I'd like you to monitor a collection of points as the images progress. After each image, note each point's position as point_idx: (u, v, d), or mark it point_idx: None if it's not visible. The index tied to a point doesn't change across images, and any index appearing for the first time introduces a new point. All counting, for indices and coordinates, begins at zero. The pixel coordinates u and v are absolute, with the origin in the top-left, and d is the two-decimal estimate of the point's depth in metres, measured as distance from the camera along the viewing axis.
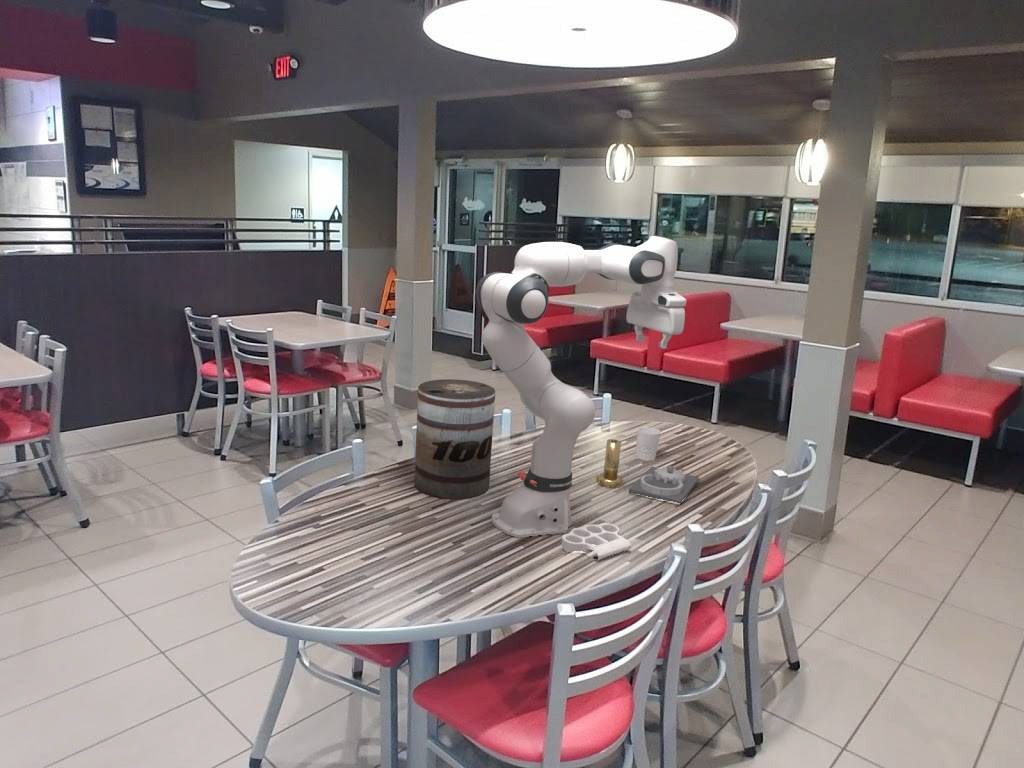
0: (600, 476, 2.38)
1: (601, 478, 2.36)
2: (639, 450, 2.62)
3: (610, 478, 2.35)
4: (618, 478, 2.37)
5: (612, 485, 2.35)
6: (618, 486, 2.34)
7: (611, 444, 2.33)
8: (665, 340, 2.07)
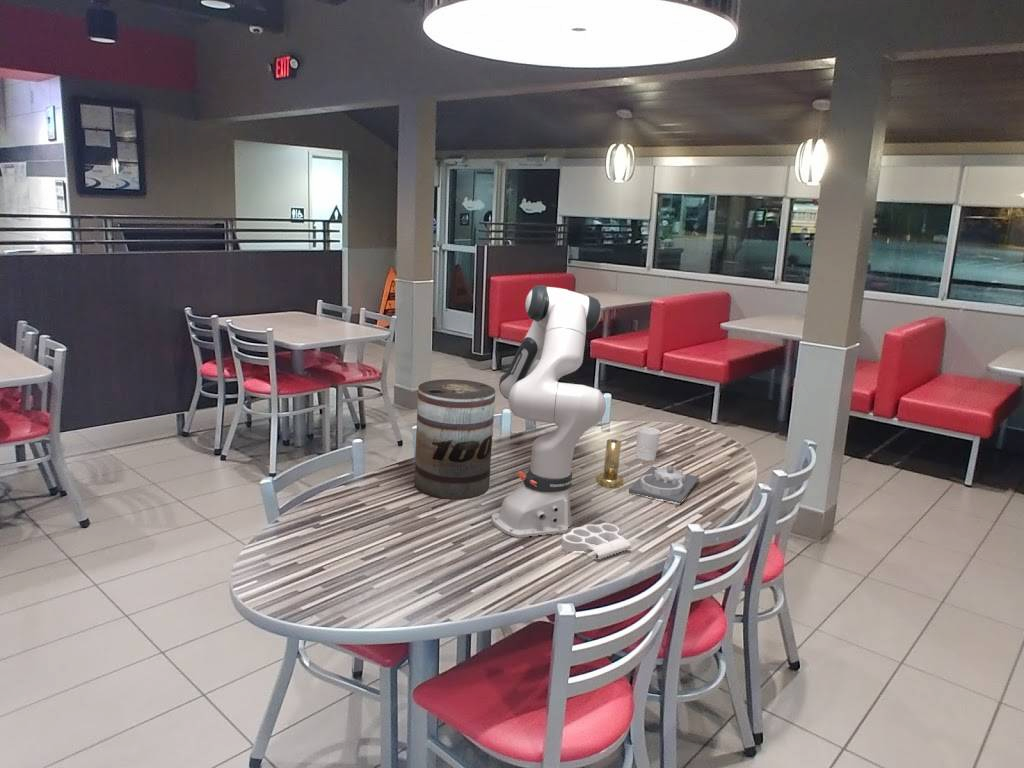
0: (600, 476, 2.38)
1: (601, 478, 2.36)
2: (639, 450, 2.62)
3: (610, 478, 2.35)
4: (618, 478, 2.37)
5: (612, 485, 2.35)
6: (618, 486, 2.34)
7: (611, 444, 2.33)
8: None
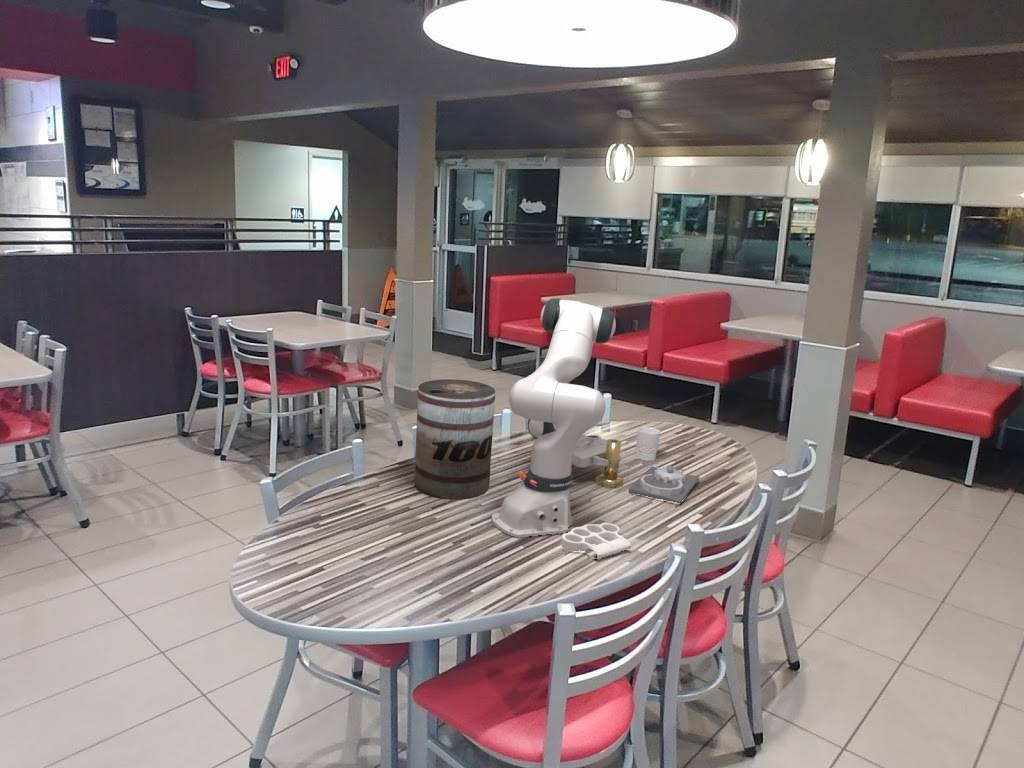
0: (600, 476, 2.38)
1: (601, 478, 2.36)
2: (639, 450, 2.62)
3: (610, 478, 2.35)
4: (618, 478, 2.37)
5: (612, 485, 2.35)
6: (618, 486, 2.34)
7: (611, 444, 2.33)
8: None
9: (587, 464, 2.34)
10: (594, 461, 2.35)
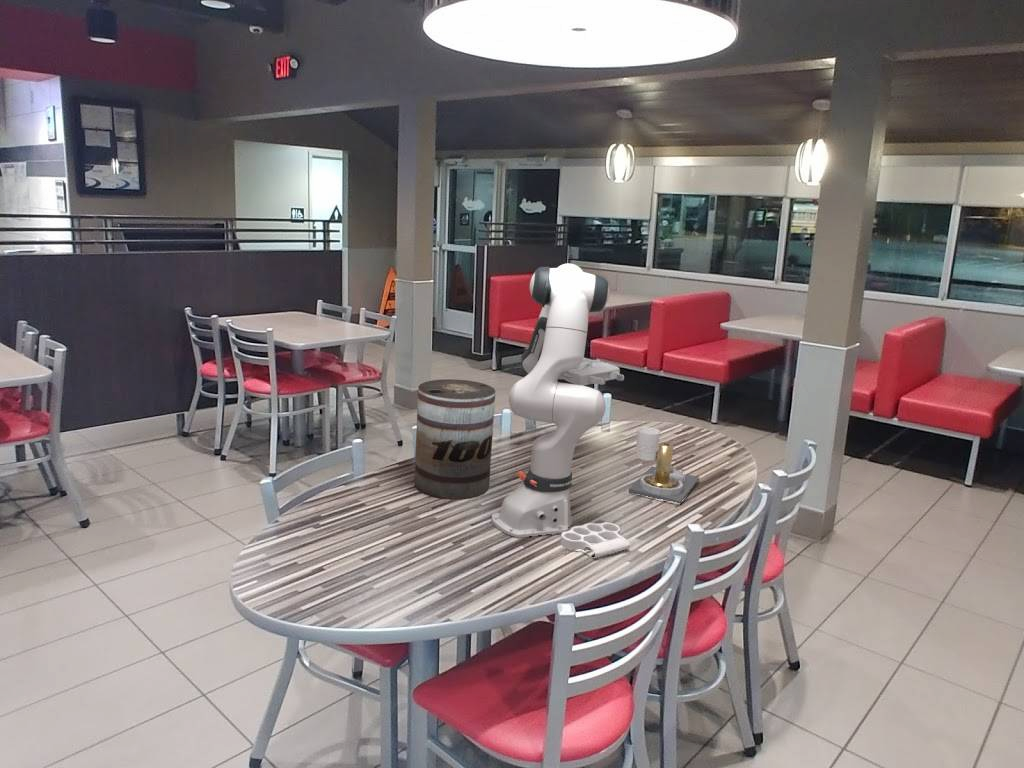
0: (651, 480, 2.34)
1: (653, 482, 2.32)
2: (639, 450, 2.62)
3: (662, 482, 2.31)
4: (670, 482, 2.33)
5: None
6: None
7: (664, 447, 2.29)
8: None
9: (586, 382, 2.35)
10: (590, 380, 2.35)
